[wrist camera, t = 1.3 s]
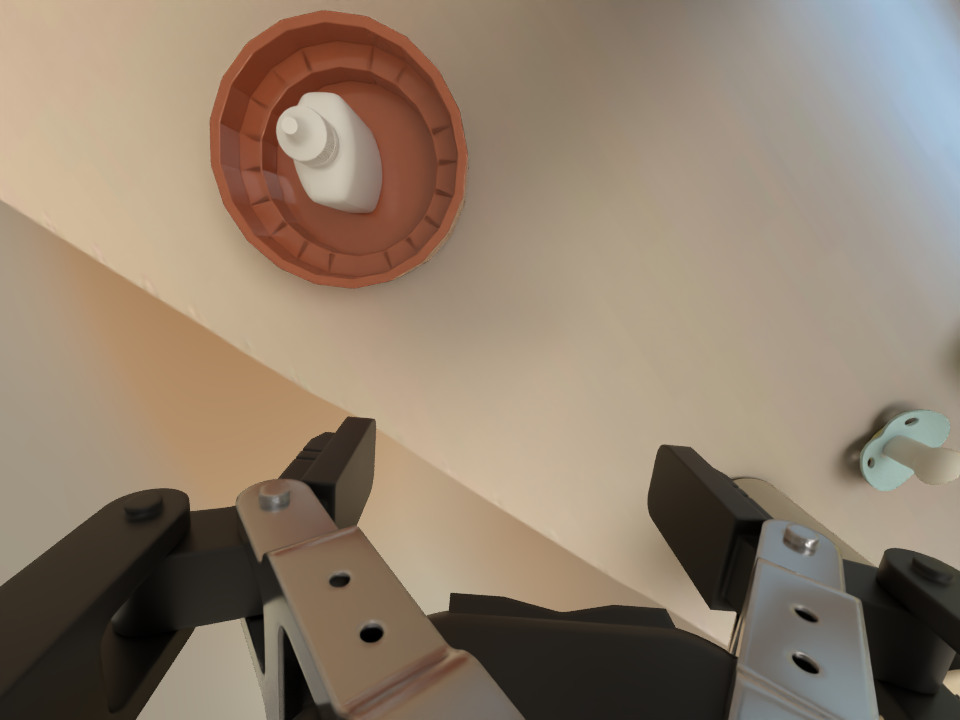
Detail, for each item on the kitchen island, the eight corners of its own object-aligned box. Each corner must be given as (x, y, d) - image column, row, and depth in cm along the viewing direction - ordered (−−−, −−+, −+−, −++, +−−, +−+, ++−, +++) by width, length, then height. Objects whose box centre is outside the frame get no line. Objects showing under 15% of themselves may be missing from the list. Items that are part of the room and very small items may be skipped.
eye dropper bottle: (312, 192, 31) (218, 159, 20) (347, 116, 30) (268, 32, 19) (368, 224, 32) (308, 210, 20) (404, 150, 31) (363, 90, 19)
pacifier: (946, 430, 37) (898, 392, 36) (1040, 467, 31) (987, 423, 30) (881, 495, 38) (833, 461, 37) (959, 543, 32) (905, 504, 31)
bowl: (250, 35, 29) (205, -8, 24) (479, 67, 30) (480, 32, 25) (251, 268, 33) (212, 272, 28) (455, 292, 34) (452, 300, 29)
